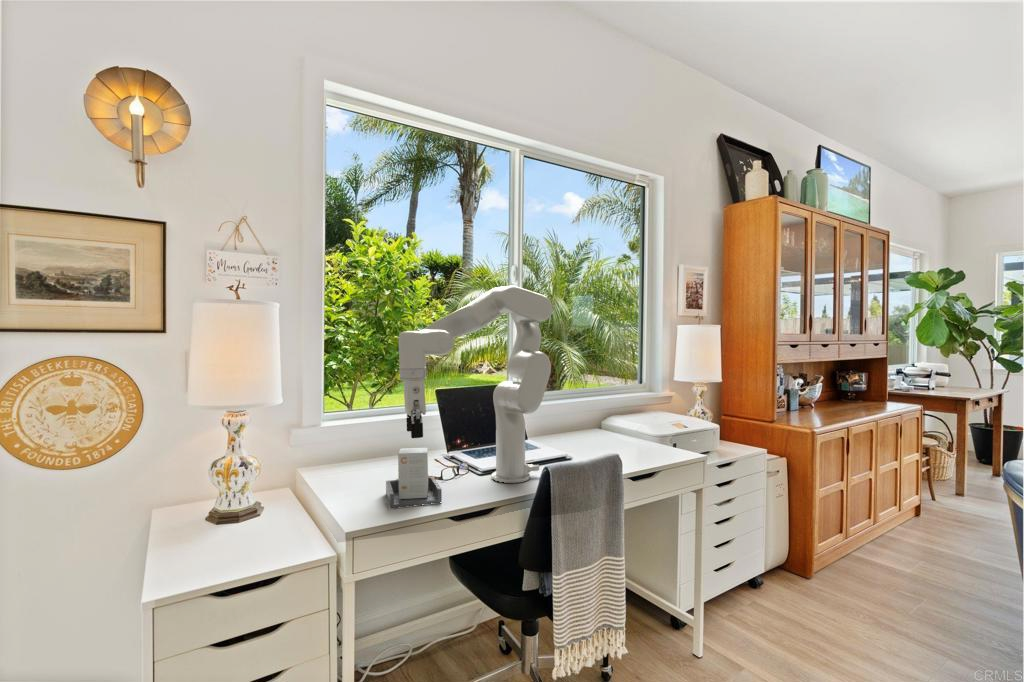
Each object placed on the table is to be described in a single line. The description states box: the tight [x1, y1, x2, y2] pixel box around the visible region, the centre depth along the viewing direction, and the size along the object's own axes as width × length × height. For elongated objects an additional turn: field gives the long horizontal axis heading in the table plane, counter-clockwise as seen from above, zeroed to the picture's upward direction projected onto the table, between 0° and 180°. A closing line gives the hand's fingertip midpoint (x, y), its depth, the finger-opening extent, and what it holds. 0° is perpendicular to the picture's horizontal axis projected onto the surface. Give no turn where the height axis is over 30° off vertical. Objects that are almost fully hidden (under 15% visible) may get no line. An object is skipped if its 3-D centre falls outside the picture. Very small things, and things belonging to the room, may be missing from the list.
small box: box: [397, 447, 429, 499], centre depth 145 cm, size 8×6×13 cm
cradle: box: [385, 476, 443, 509], centre depth 145 cm, size 14×13×4 cm
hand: (414, 434), depth 145 cm, fingers open, 9 cm apart
